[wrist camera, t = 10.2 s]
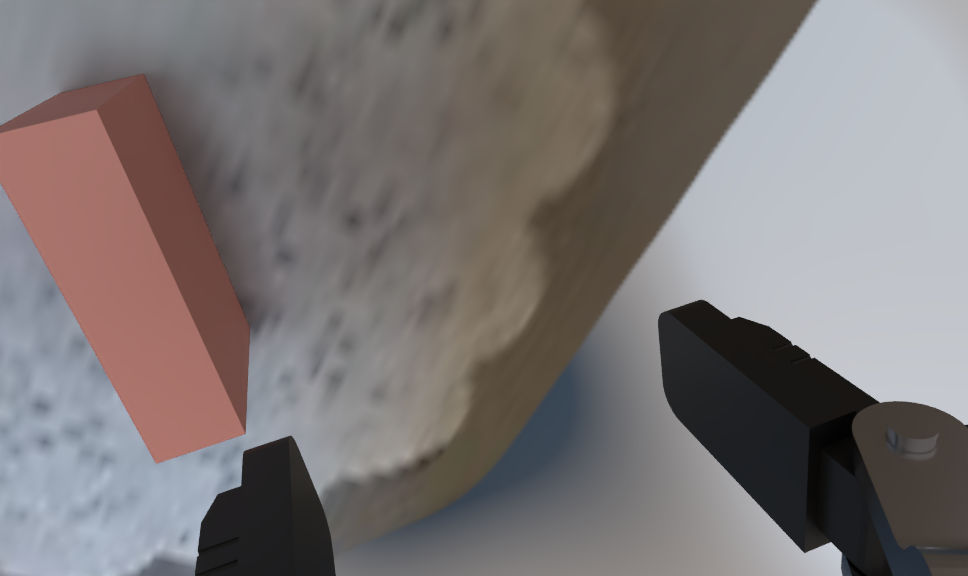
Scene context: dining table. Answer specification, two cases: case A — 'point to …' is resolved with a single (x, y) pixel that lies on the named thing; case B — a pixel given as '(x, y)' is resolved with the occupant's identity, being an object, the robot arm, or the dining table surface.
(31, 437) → the dining table surface
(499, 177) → the dining table surface
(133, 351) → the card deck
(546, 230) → the dining table surface
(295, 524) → the robot arm
